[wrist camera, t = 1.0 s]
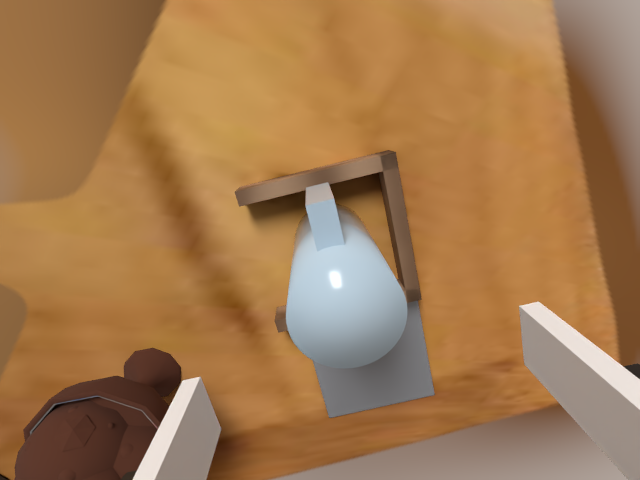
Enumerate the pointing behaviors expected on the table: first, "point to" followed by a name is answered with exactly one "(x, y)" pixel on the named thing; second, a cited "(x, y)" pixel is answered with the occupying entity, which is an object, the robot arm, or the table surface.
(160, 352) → the ice cream bowl
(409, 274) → the brown wooden u-shaped frame
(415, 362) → the coaster
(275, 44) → the table surface
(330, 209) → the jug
